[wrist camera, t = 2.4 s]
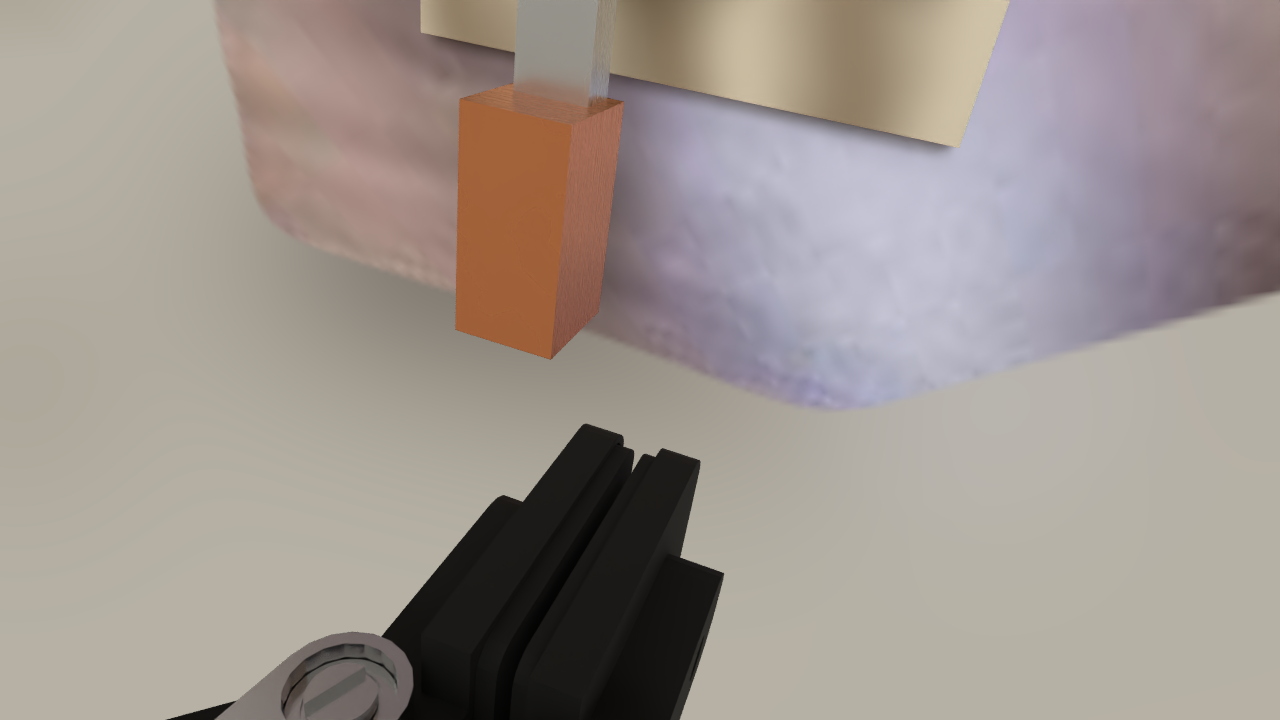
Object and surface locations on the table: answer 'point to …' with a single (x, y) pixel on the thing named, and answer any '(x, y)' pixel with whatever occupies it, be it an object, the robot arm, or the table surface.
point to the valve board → (790, 53)
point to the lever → (539, 181)
